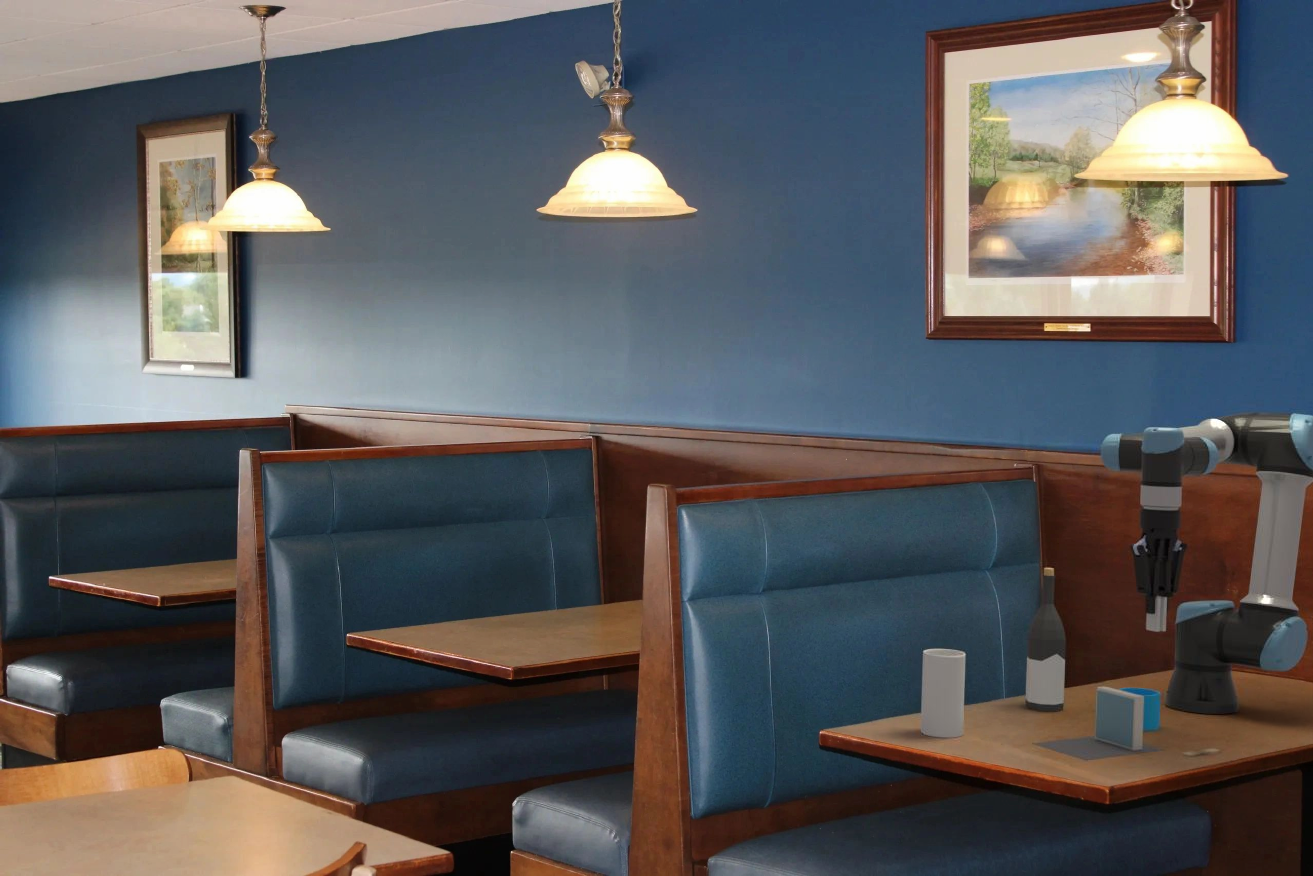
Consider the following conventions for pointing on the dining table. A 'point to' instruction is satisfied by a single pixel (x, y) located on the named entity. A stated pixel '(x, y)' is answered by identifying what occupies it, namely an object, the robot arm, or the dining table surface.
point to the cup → (943, 693)
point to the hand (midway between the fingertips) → (1155, 630)
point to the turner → (1201, 752)
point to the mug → (1148, 707)
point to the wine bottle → (1046, 654)
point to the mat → (1092, 748)
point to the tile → (1119, 718)
